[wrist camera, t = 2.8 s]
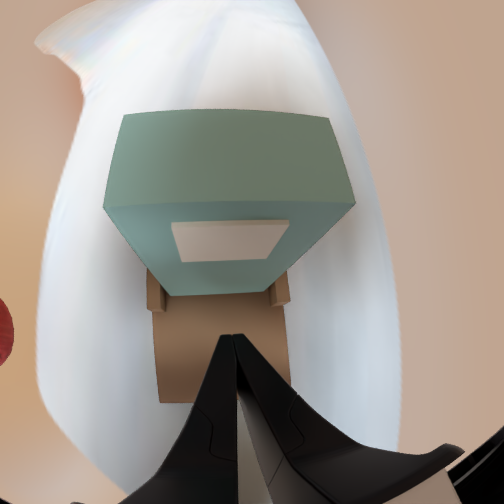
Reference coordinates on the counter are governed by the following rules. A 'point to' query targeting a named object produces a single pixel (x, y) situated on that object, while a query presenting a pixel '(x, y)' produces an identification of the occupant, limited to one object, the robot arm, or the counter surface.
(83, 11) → the counter surface
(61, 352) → the counter surface
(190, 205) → the green rectangular block
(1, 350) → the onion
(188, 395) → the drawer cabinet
